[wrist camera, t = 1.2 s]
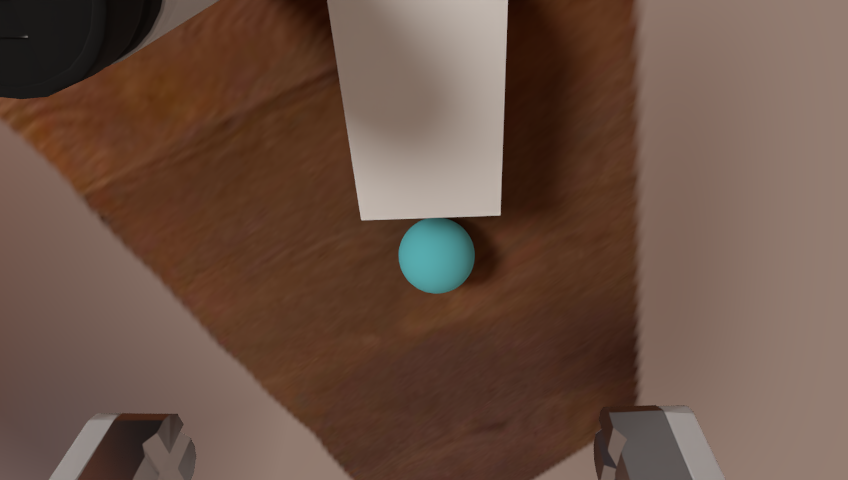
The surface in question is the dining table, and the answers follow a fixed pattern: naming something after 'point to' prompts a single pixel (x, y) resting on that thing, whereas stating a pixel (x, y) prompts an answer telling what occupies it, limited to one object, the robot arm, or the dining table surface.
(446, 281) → the ball
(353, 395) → the dining table surface
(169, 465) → the robot arm
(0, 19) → the travel mug
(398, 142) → the off-white rectangular block
